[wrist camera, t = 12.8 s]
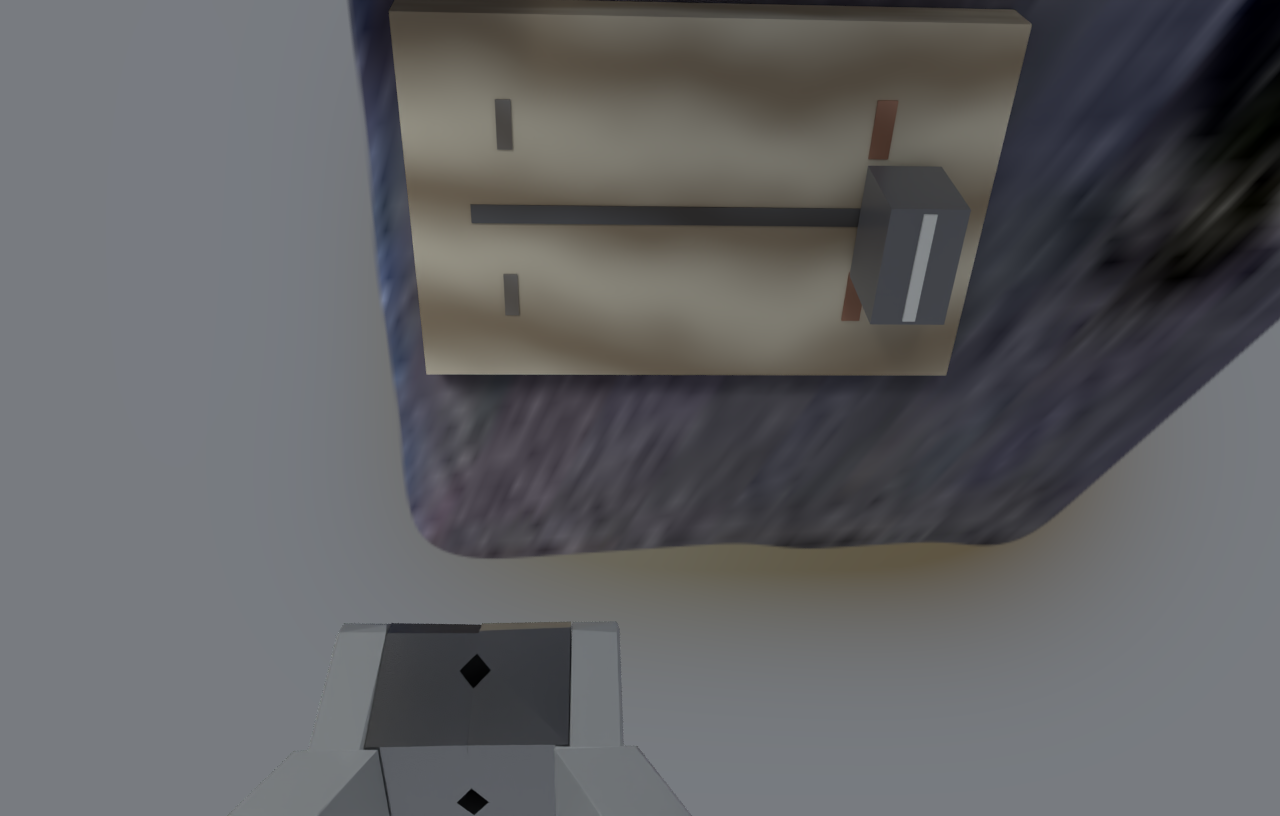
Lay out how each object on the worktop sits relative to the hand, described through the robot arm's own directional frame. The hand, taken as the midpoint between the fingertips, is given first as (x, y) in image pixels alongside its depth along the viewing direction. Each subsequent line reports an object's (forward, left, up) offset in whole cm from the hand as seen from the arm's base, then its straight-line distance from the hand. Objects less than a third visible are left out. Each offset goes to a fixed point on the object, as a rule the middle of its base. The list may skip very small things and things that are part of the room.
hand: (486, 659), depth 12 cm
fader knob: (+10, +14, -32) cm, 36 cm away
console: (+10, +6, -34) cm, 36 cm away
